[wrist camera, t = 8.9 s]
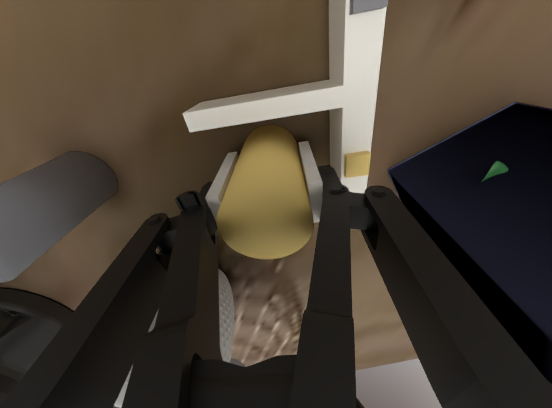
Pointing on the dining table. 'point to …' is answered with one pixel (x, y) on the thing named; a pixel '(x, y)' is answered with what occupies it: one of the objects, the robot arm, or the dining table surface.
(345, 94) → the comb rack
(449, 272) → the robot arm
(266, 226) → the ochre plug
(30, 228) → the charcoal plug
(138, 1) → the dining table surface
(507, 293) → the vase
